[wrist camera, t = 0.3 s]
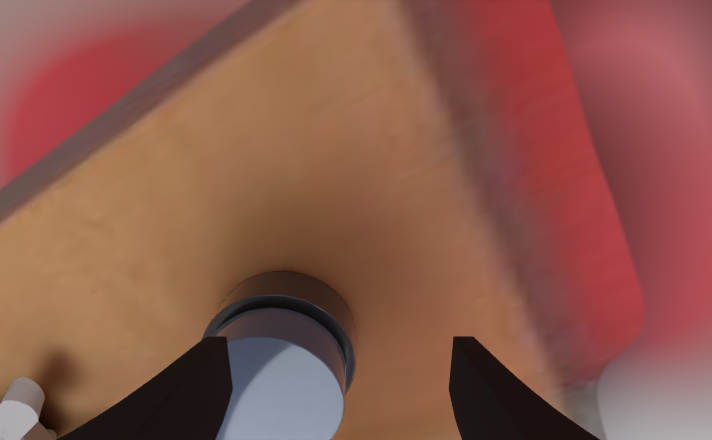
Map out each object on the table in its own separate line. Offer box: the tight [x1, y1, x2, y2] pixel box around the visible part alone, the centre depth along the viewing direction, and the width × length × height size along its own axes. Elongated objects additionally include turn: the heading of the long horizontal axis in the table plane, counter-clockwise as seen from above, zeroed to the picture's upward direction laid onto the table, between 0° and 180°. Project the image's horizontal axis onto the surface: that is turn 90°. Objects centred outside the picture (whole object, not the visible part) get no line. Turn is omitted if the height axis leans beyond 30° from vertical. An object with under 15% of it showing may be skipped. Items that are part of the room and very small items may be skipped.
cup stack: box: [202, 271, 356, 440], centre depth 20 cm, size 9×9×6 cm
